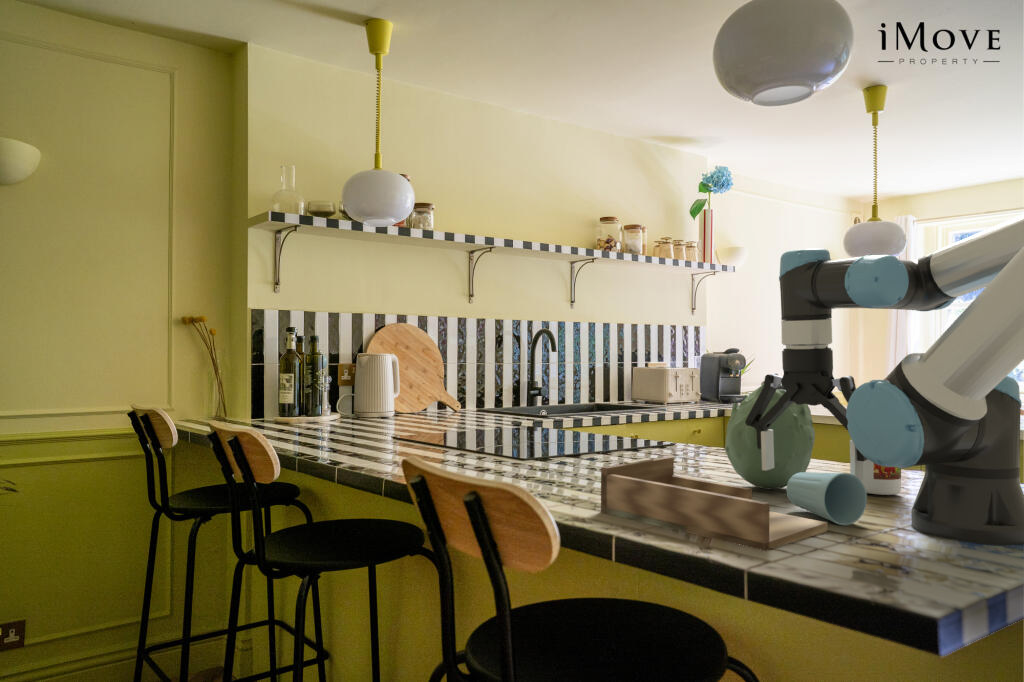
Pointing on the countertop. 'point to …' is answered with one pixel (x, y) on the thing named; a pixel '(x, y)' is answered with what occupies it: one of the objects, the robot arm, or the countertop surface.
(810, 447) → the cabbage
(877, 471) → the milk bottle
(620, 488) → the rail board
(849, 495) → the cup
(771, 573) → the countertop surface
